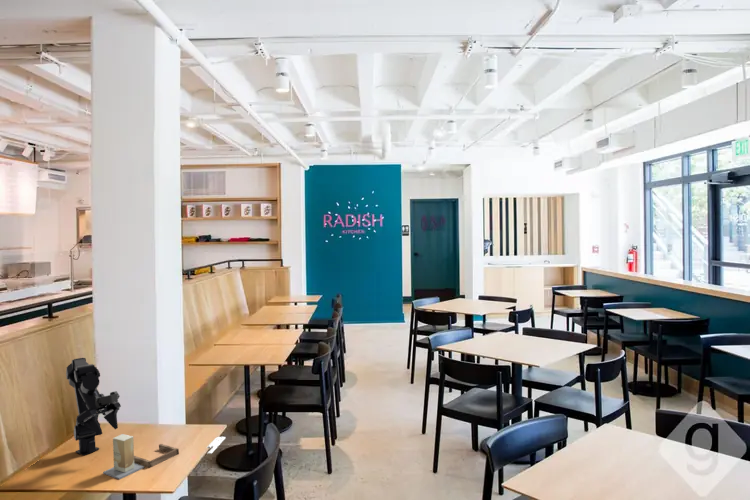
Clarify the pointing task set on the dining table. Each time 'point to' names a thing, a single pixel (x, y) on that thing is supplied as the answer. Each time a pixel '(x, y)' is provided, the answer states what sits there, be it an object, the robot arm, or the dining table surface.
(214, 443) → the white meat cleaver
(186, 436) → the dining table surface
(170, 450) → the walnut cubby
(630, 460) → the dining table surface
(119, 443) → the skincare box
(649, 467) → the dining table surface
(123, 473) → the slate coaster
